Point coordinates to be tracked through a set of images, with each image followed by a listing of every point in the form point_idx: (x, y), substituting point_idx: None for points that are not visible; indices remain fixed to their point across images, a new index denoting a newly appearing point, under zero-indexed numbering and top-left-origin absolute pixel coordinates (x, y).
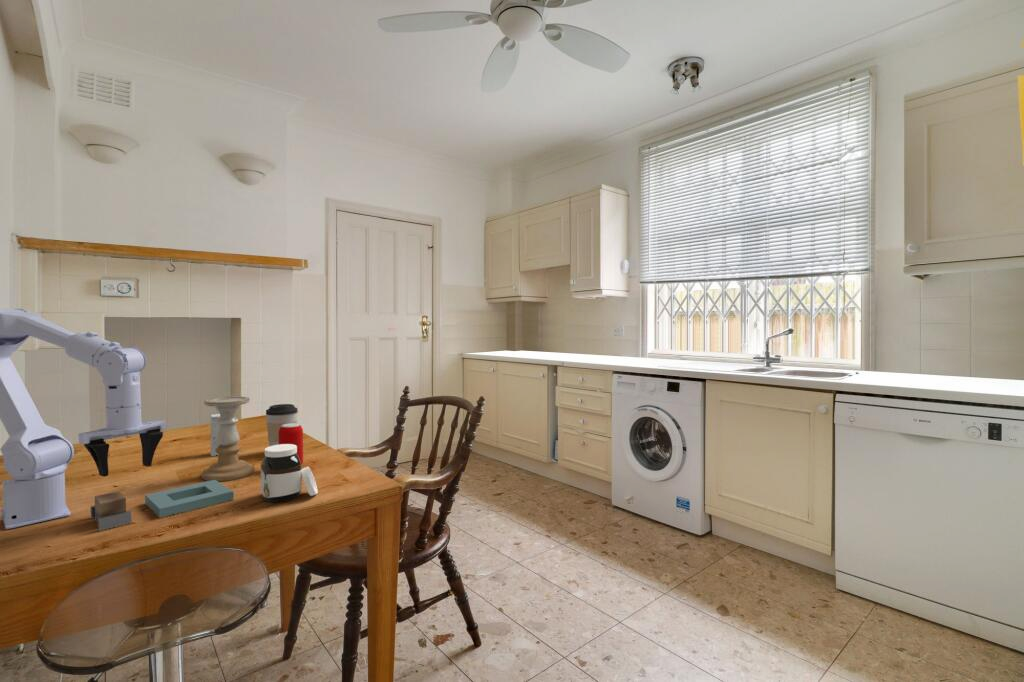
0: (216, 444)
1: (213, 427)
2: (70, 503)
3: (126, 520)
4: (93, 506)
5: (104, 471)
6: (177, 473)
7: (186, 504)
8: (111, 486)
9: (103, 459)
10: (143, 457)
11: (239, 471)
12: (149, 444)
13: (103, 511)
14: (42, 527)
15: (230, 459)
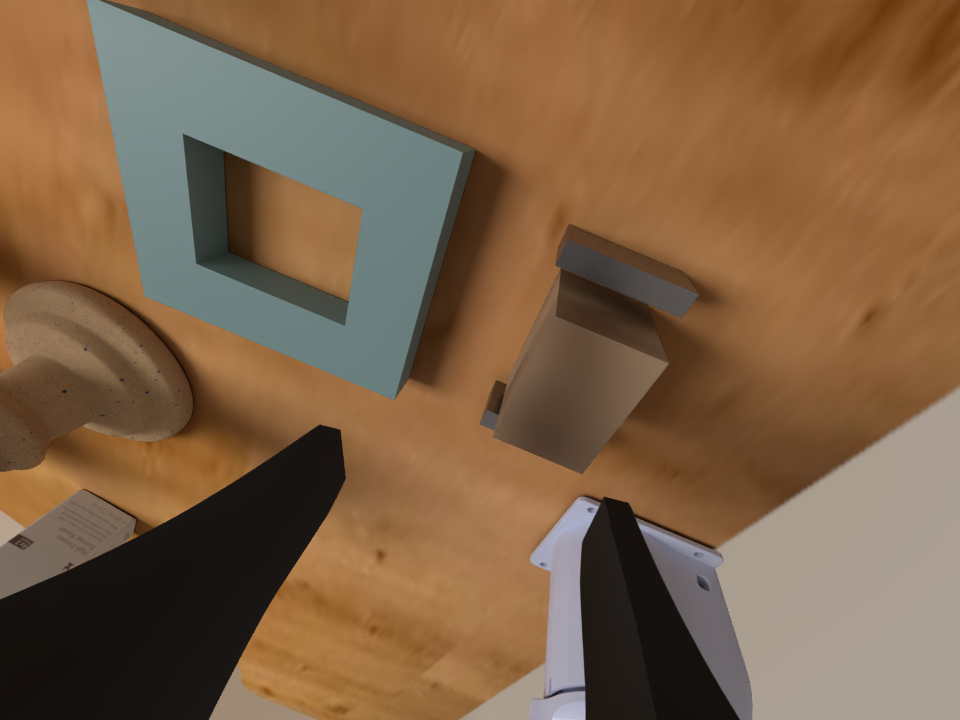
0: (85, 542)
1: None
2: (509, 558)
3: (588, 235)
4: None
5: (643, 537)
6: None
7: (341, 99)
8: (387, 561)
9: (691, 677)
10: (309, 526)
11: (52, 305)
12: (163, 610)
13: (647, 334)
14: (681, 489)
15: (28, 376)
